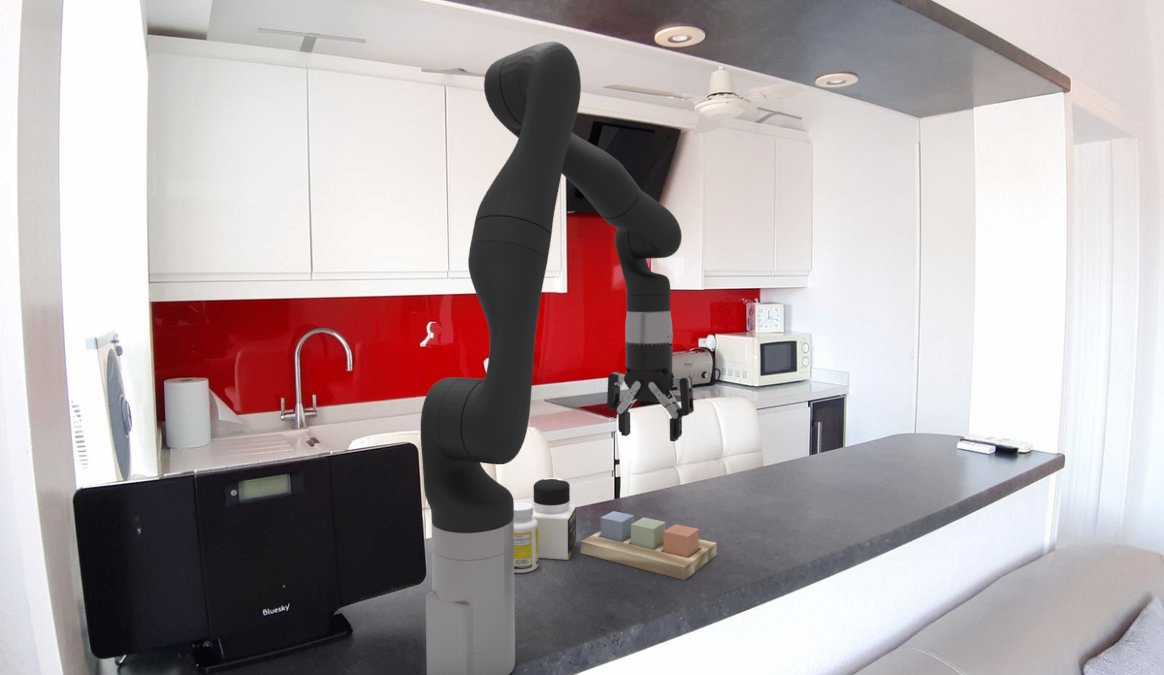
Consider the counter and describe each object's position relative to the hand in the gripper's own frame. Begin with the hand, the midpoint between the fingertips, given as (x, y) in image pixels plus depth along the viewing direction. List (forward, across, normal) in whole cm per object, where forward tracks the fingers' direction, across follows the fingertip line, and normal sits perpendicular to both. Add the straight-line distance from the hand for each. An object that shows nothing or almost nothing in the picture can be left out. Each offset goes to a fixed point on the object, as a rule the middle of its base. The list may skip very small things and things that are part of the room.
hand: (649, 437), depth 108 cm
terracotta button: (+18, +6, -1) cm, 19 cm away
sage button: (+18, 0, 0) cm, 18 cm away
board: (+20, 0, 0) cm, 20 cm away
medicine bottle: (+20, -15, -7) cm, 26 cm away
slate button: (+18, -6, 0) cm, 19 cm away
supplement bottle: (+19, -16, -15) cm, 29 cm away
